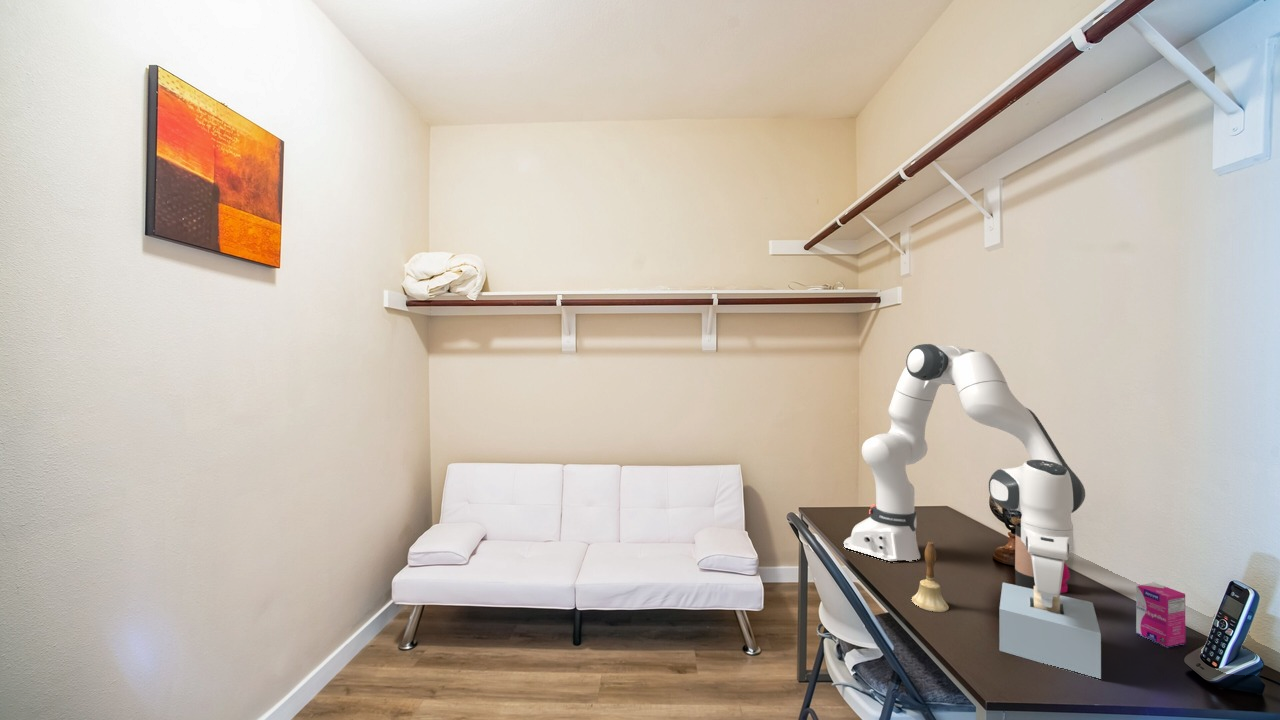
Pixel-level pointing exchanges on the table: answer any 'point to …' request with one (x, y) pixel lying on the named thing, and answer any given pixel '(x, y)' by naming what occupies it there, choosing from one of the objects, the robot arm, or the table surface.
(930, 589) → the hand bell
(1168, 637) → the supplement box
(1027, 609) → the socket block
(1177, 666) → the table surface
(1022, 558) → the travel mug
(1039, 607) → the peg
